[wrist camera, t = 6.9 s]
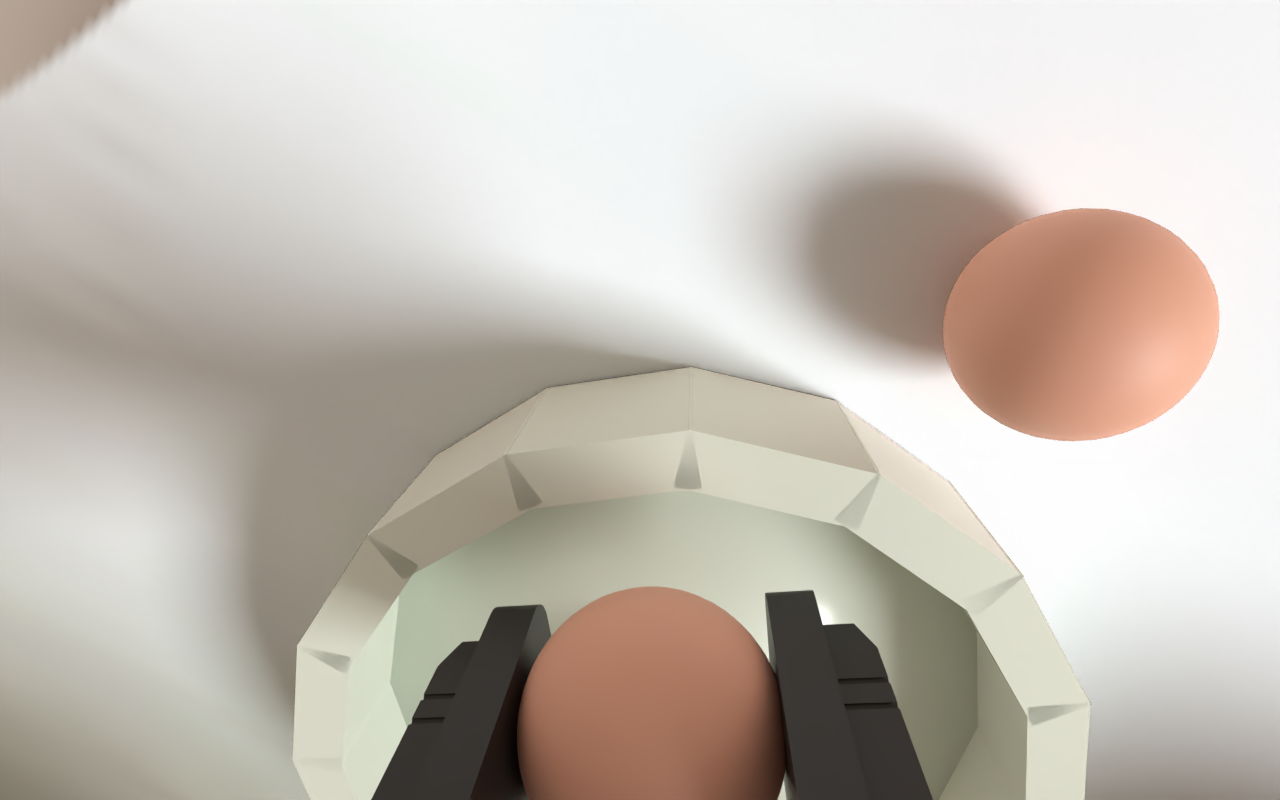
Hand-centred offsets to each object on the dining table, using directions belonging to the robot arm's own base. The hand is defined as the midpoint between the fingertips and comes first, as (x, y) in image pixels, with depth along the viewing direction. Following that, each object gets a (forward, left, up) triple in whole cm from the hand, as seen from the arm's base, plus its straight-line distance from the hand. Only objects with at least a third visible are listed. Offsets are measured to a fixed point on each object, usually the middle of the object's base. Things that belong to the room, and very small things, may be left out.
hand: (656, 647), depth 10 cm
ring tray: (-4, -1, -4) cm, 6 cm away
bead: (0, 0, 0) cm, 0 cm away
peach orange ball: (+6, -5, -4) cm, 9 cm away
